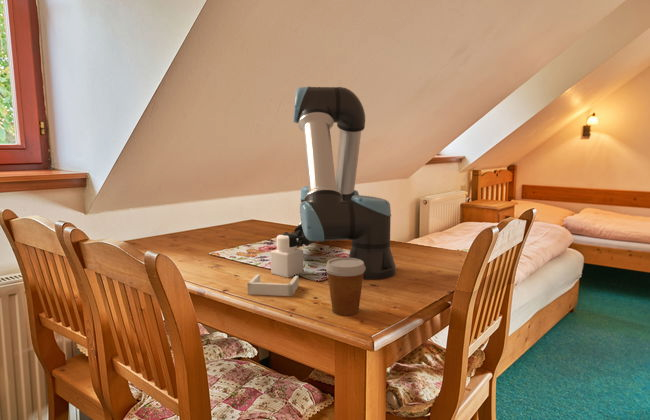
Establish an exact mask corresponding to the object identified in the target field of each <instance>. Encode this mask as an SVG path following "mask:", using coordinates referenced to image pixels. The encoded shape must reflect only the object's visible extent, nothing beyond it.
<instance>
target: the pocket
mask: <svg viewBox="0 0 650 420" xmlns="http://www.w3.org/2000/svg"><path fill="white" fill-rule="evenodd" d="M299 281H300V277H299V275H295V276H293V278H292V279H291V281H290V282H289V283H274V282H261V274H260V273H259V274H257V273H256V274H255V275H254V276H252V278H251V279H250V280H249V281H248V282H247V286H246V287H247V295H252V296H253V295H254V296H255V295H256V296H257V295H258V296H276V297H277V296H279V297H293V296H294V294H295V292H296V291H297V289H298V287H299V286H300V285H299V284H300V283H299Z"/></svg>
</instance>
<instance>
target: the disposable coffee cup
mask: <svg viewBox="0 0 650 420" xmlns="http://www.w3.org/2000/svg"><path fill="white" fill-rule="evenodd" d="M324 268H325V270H326V273H327V279H328V280H327V281H328V286H329V287H328V288H329V294H330V302H331V311H332V313H333V314H335V315H339V316H353V315H356V314H358V313H359V312H360V311H359V309H360V303H361V295H362V289H363V287H362V286H363V280H364V279H363V273H364V272H365V269H366V267H365V266H364V262H363V261H362V260H359V259H355V258H348V257H336V258H332V259H329V260H328V261H327V263H326V266H325V267H324Z"/></svg>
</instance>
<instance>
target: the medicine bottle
mask: <svg viewBox="0 0 650 420" xmlns="http://www.w3.org/2000/svg"><path fill="white" fill-rule="evenodd" d="M296 248H297V237H296V235H293V234H291V233H290V234H284V233H281V234H277V236H276V249H273V250H271V251H270V272H271V274H272V275H276V276H280V277H283V278H291V277H294V275H295V276H297V275H296V274H298V275H300V274H303V273H304V249H300V248H299V249H298V248H297V249H296ZM302 272H303V273H302ZM299 273H300V274H299Z"/></svg>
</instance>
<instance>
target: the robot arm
mask: <svg viewBox="0 0 650 420" xmlns="http://www.w3.org/2000/svg"><path fill="white" fill-rule="evenodd" d="M294 97H295V98H294V99H295V101H294V109H293V123H295V124H298V125H297V127H298V128H299V130H300V131H302V132H303V140H304V141H303V142H304V151H305V165H306V166H305V167H306V177H307V185H304V186H302V187H301V191H300V205H299V214H300V223H299V224H298V225H297V226H296V227H295V229H294V231H291V233H290V232H288V231H285V232H284V233H283V234H293V235H296V237H297V248H296V249H298V248H300V247H302V246H305V247H308V246H310V245H311V244H313V243H314V244H315V243H316V242H330V241H348V240H349V241H351V248H350V251H349V254H348V257H347V258H355V259H359V260H362V261H363V262H364V266H365V267H366V269H365V272H364V273H363V280H382V279H389V278H391V277H393V276H395V275H396V270H397V268H396V267H397V266H396V263H395V258H394V256H393V253H392V251H391V250H392V249H391V220H392V219H391V217H392V214H391V212H392V211H391V203H390V201H388V200H387V199H385V198H381V197H378V196H377V197H376V196H369V195H360V194H359V191H358V190H355V186H356V179H357V170H358V162H359V153H360V146H361V145H360V144H361V138H362V132H363V131H365V126H366V113H365V109H364V106H363V103H362V102H361V100H360V98H359V97H358V96H357V95H356V93H355V92H353V90H350V89H349V88H347V87H341V86H335V87H334V86H333V87H332V86H325V87H324V86H303V87H302V86H301V87H298V88H297V89H296V90H295V96H294ZM335 123H336V127H337V129H339V132H338V133H339V134H338V143H337V144H338V146H337V155H336V156H337V157H336V169H335V162H334V156H333V154H334V153H333V147H332V137H331V136H332V135H331V129H332V128H333V126H334V124H335Z"/></svg>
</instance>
